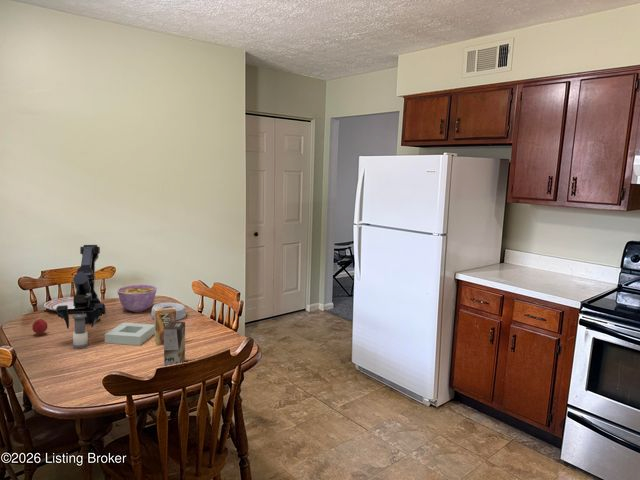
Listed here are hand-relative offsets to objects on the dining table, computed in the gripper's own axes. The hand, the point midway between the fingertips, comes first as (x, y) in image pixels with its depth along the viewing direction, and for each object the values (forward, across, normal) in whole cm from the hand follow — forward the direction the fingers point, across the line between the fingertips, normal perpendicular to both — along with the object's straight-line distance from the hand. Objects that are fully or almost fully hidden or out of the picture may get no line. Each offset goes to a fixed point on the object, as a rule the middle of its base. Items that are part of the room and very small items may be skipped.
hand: (80, 327), depth 189 cm
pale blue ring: (-17, +37, +29) cm, 50 cm away
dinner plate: (-37, -12, +49) cm, 62 cm away
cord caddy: (+2, +20, +9) cm, 22 cm away
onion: (-7, -19, +19) cm, 28 cm away
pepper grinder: (+6, 0, +6) cm, 8 cm away
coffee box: (+26, +38, -14) cm, 48 cm away
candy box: (+9, +35, +3) cm, 36 cm away
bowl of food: (-29, +22, +40) cm, 54 cm away
